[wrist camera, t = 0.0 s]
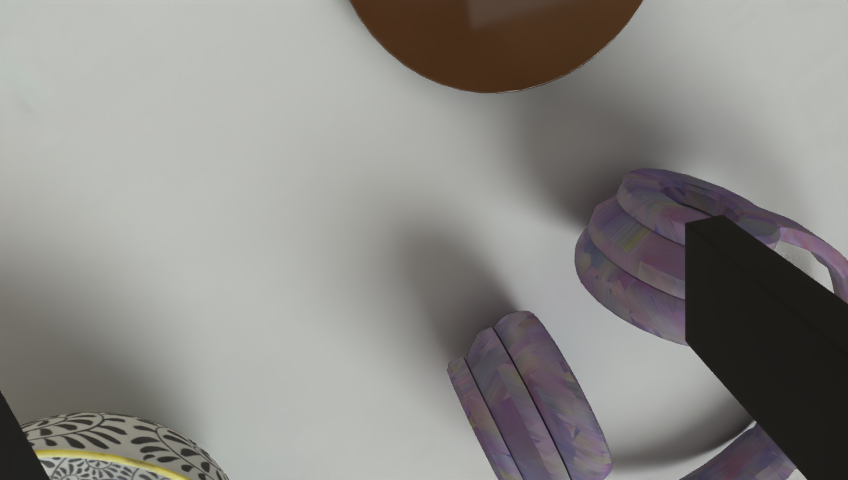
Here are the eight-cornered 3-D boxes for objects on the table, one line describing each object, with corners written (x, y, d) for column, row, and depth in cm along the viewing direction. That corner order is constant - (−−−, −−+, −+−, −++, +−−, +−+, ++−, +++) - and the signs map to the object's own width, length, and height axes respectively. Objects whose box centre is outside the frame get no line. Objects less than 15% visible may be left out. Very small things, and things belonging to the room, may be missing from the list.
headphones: (379, 381, 33) (620, 494, 43) (423, 524, 26) (697, 618, 36) (649, 82, 28) (847, 287, 38) (787, 161, 22) (984, 385, 32)
